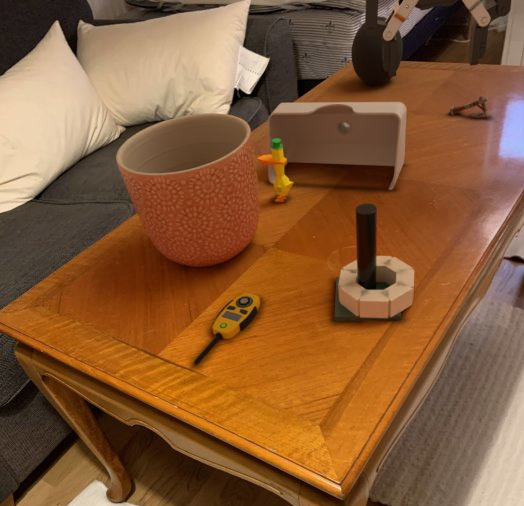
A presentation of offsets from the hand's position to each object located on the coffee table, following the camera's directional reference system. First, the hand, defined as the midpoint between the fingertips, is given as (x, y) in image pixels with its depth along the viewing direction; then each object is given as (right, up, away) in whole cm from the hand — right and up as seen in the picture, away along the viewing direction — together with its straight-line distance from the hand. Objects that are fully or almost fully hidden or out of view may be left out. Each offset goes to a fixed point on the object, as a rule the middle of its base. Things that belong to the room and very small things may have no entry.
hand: (431, 68), depth 58 cm
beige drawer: (-3, +5, +47) cm, 47 cm away
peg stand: (-4, -24, +18) cm, 30 cm away
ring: (-3, -23, +17) cm, 29 cm away
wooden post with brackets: (+26, +19, +54) cm, 63 cm away
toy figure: (-15, -3, +41) cm, 44 cm away
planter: (-28, -13, +34) cm, 46 cm away
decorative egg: (+10, +37, +75) cm, 84 cm away
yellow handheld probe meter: (-24, -29, +18) cm, 41 cm away
